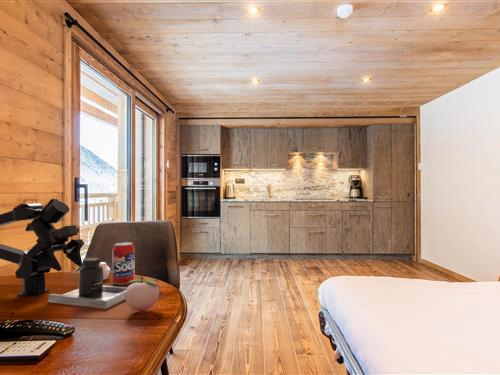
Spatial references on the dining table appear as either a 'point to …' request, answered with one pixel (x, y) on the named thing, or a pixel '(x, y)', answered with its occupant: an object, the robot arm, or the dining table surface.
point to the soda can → (123, 263)
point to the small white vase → (105, 270)
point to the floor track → (105, 301)
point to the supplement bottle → (91, 278)
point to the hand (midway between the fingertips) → (71, 268)
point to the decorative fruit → (141, 294)
